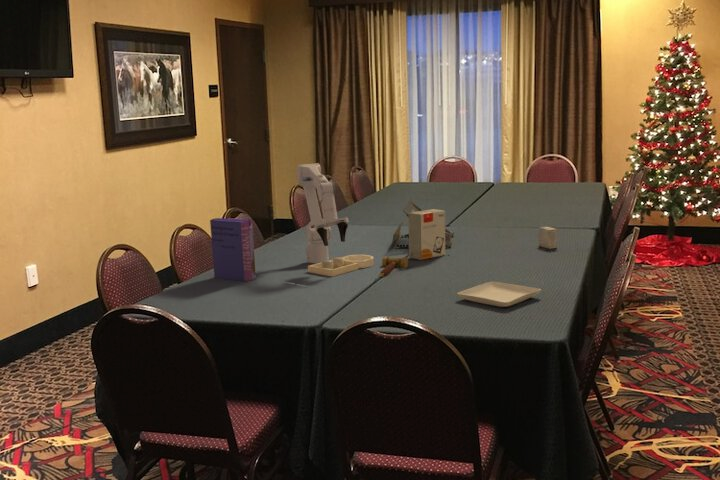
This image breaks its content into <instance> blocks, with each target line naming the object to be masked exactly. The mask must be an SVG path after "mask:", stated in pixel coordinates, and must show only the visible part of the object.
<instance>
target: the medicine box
mask: <svg viewBox="0 0 720 480" xmlns="http://www.w3.org/2000/svg"><path fill="white" fill-rule="evenodd" d="M538 247H541V248H545V249H550V250H552V249H553V250H554V249H557V248H558V229H557V228H553V227H550V226H542V227H539V228H538Z"/></svg>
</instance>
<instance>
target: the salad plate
mask: <svg viewBox="0 0 720 480" xmlns="http://www.w3.org/2000/svg"><path fill="white" fill-rule="evenodd" d="M541 291H542V289H541V288H537V287H531V286H525V285H519V284H511V283H505V282H501V281H500V282H499V281H489V282H486V283H481V284H479V285H475V286H473V287H470V288H467V289H465V290H461V291H459V292H457V295H458V296H459V298H461V299H463V300H465V301H469V302H473V303H479V304H483V305H487V306H494V307H499V308H505V307H511V306H513V305H515V304H520V303H522V302H524V301H527V300H528V299H530V298H533V297H535V296H537V295H538V294H539V293H540V292H541Z"/></svg>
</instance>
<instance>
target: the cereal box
mask: <svg viewBox="0 0 720 480" xmlns="http://www.w3.org/2000/svg"><path fill="white" fill-rule="evenodd" d="M209 222H210V223H209V224H210V237H211V248H212V250H211V251H212V262H213V274H214V275H213V276H214V279H221V280H230V281H231V280H232V281H240V282H247V283H248V282H252V281H255V280H256V279H257V278H256V277H257V275H256V274H257V273H256V264H255V263H256V262H255V247H254V245H255V244H254V231H253V228H254V227H253V220H251V219H239V218H238V219H235V218H222V217H221V218H220V217H218V218H212V219H209Z"/></svg>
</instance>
